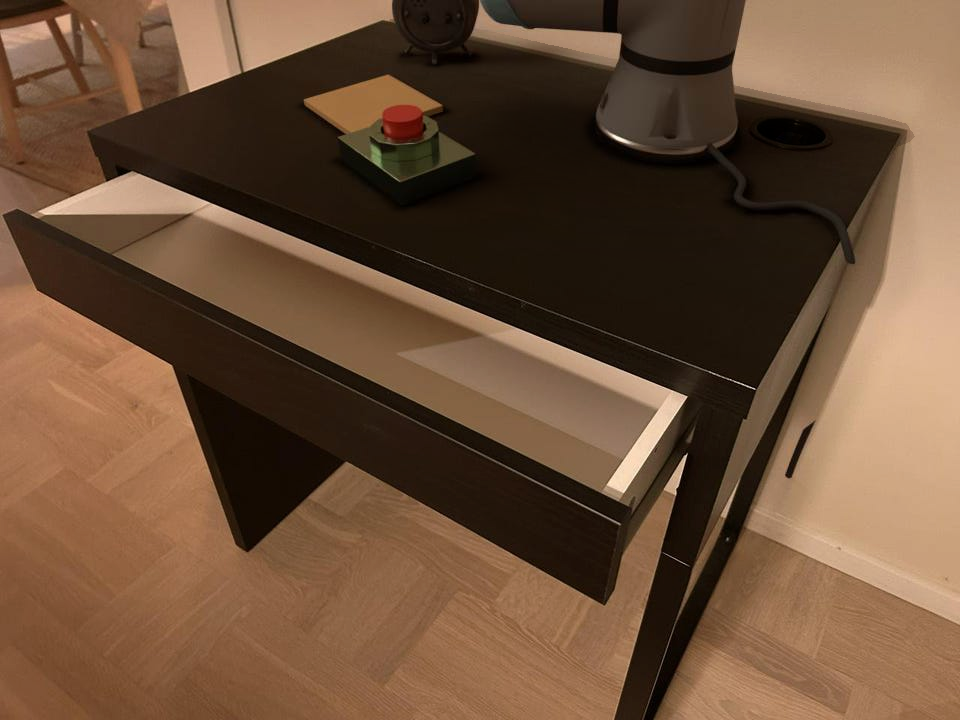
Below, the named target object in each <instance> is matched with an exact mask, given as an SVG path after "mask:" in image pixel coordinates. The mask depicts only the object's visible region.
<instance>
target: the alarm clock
mask: <svg viewBox="0 0 960 720" xmlns="http://www.w3.org/2000/svg"><path fill="white" fill-rule="evenodd" d="M479 11H480V0H391V13H392V18H393V22H394V24H395V27H396V29H397V31H398V32H399V34H400V36H401V37H402V38H403V39H404V41H406V42H407V43H408V46H407V49H405V50H404V54H405V55H409V54H410V52H411V50H412V49H414V48H415V49H416V50H419V51H421V52H423V53H426V54H431V64H432V65H437V64H438V55H443V54H448V53H452V52H454V51H455V50H458V49H459V48H461V50H462V51H463V52H465V53H466V56H467V57H468V58H470V57H472V52H471V51H470V50H469V48H468V46H467V45H466V42H467V41H468V40H469V39H470V37H471V35H472V34H473V33H474V30H475V26H476V24H477V19H478V16H479Z"/></svg>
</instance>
